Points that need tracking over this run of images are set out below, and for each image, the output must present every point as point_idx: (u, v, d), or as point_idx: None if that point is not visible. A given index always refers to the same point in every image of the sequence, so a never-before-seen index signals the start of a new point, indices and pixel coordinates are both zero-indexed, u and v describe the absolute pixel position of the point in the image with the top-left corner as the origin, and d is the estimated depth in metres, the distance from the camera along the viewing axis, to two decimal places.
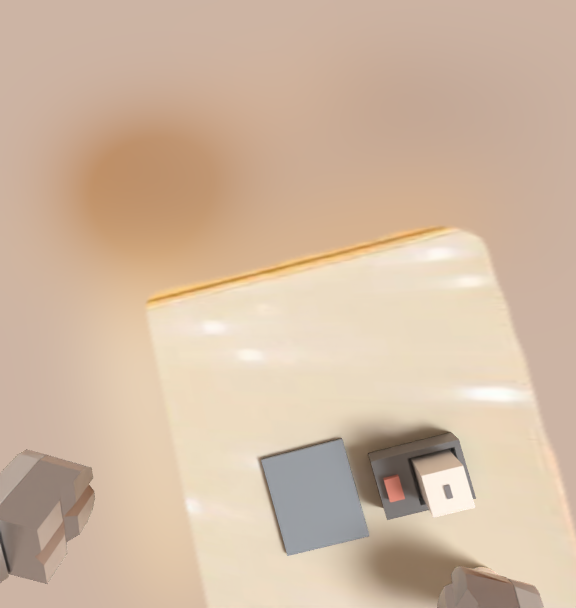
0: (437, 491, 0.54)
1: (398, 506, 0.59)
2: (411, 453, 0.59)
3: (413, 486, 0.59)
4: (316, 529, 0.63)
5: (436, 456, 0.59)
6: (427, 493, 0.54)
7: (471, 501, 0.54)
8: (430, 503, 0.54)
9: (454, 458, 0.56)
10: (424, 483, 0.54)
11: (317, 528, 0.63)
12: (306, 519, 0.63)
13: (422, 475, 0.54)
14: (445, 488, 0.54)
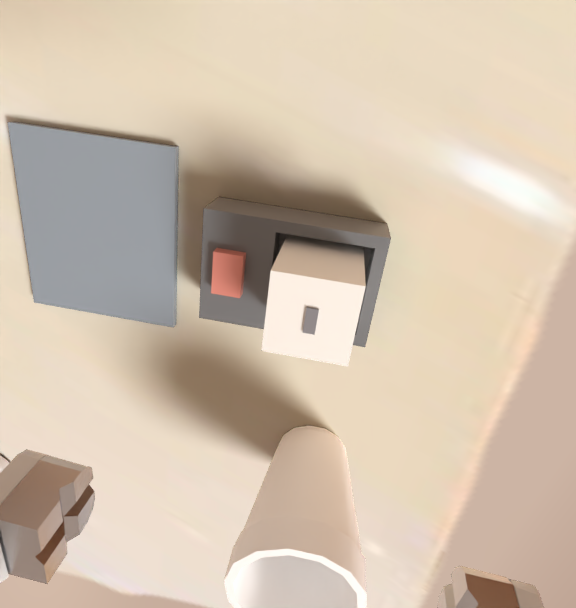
0: (290, 311, 0.25)
1: (226, 305, 0.31)
2: (287, 225, 0.28)
3: (266, 284, 0.30)
4: (88, 282, 0.35)
5: (332, 251, 0.28)
6: (268, 306, 0.25)
7: (345, 354, 0.26)
8: (266, 326, 0.26)
9: (360, 267, 0.26)
10: (271, 286, 0.25)
11: (91, 282, 0.35)
12: (75, 262, 0.35)
13: (274, 270, 0.24)
14: (307, 312, 0.25)
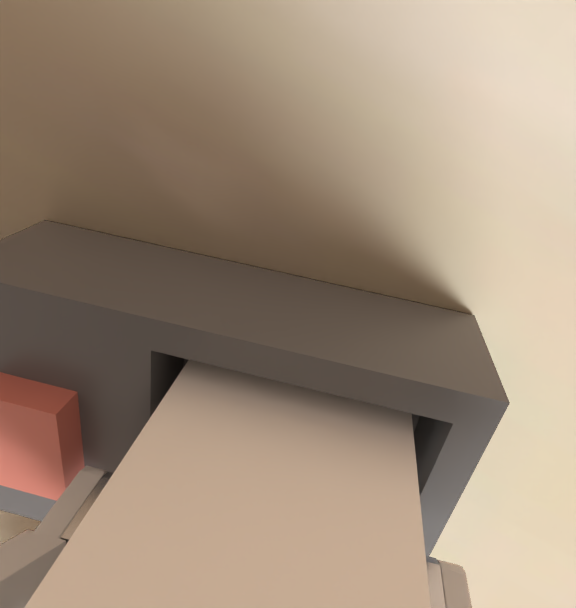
0: None
1: None
2: (184, 337, 0.09)
3: None
4: None
5: (317, 418, 0.09)
6: None
7: None
8: None
9: (408, 533, 0.07)
10: None
11: None
12: None
13: None
14: None
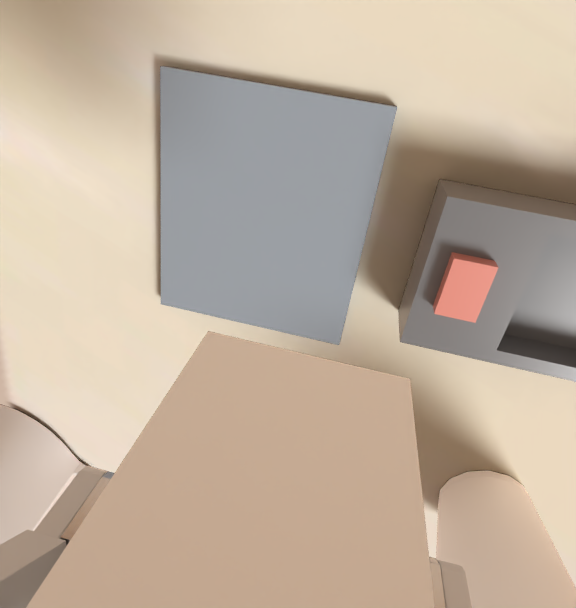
0: None
1: (444, 328, 0.23)
2: (572, 226, 0.19)
3: (511, 305, 0.22)
4: (236, 284, 0.27)
5: (319, 417, 0.09)
6: None
7: None
8: None
9: (411, 532, 0.07)
10: None
11: (239, 284, 0.27)
12: (223, 258, 0.27)
13: None
14: None
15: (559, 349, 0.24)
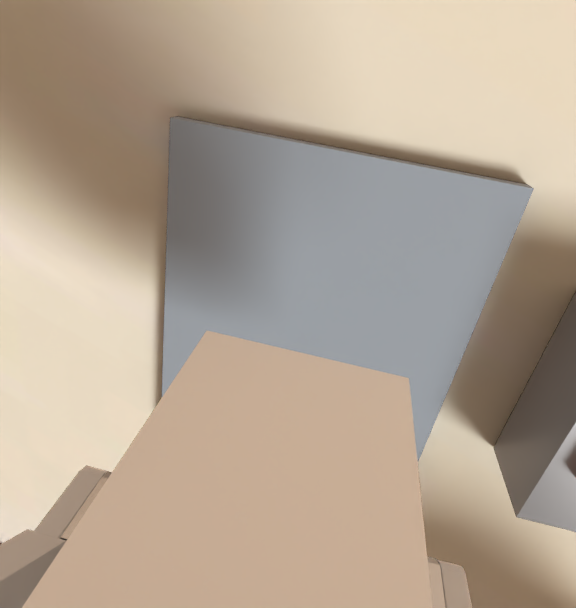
0: None
1: None
2: None
3: None
4: None
5: (317, 417, 0.09)
6: None
7: None
8: None
9: (409, 532, 0.07)
10: None
11: None
12: None
13: None
14: None
15: None
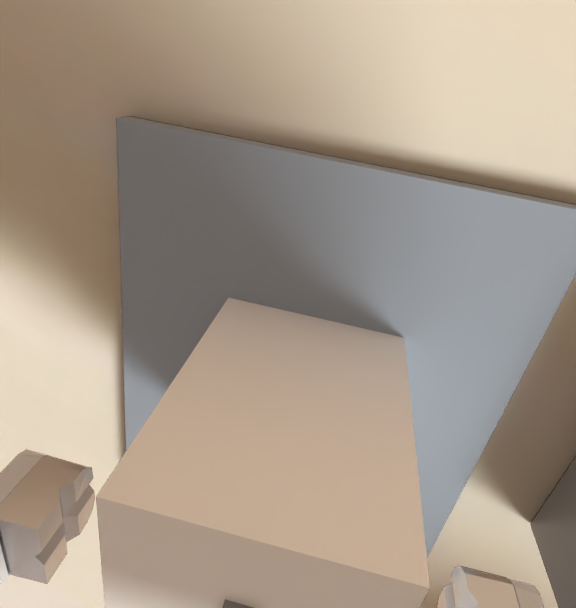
0: (176, 600, 0.08)
1: None
2: None
3: None
4: None
5: (326, 364, 0.11)
6: (109, 579, 0.08)
7: None
8: None
9: (403, 445, 0.09)
10: (107, 535, 0.07)
11: None
12: None
13: (111, 493, 0.07)
14: None
15: None
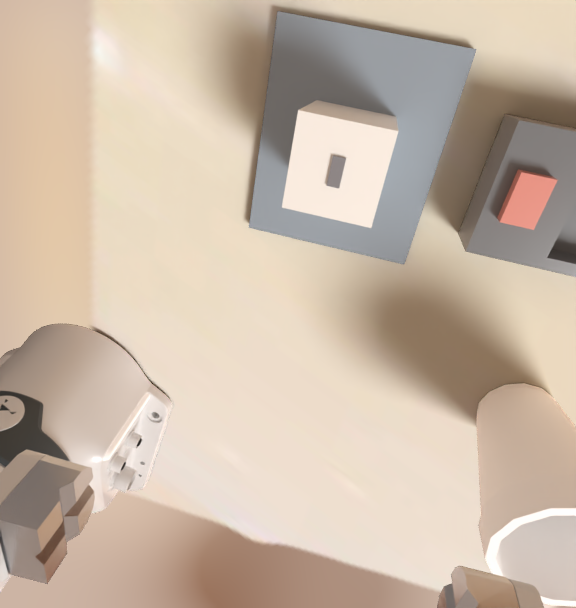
0: (315, 161, 0.24)
1: (504, 238, 0.28)
2: None
3: (563, 216, 0.26)
4: None
5: (363, 113, 0.27)
6: (293, 154, 0.24)
7: (370, 213, 0.24)
8: (289, 178, 0.24)
9: (392, 123, 0.25)
10: (297, 130, 0.23)
11: None
12: None
13: (301, 111, 0.23)
14: (333, 161, 0.23)
15: None
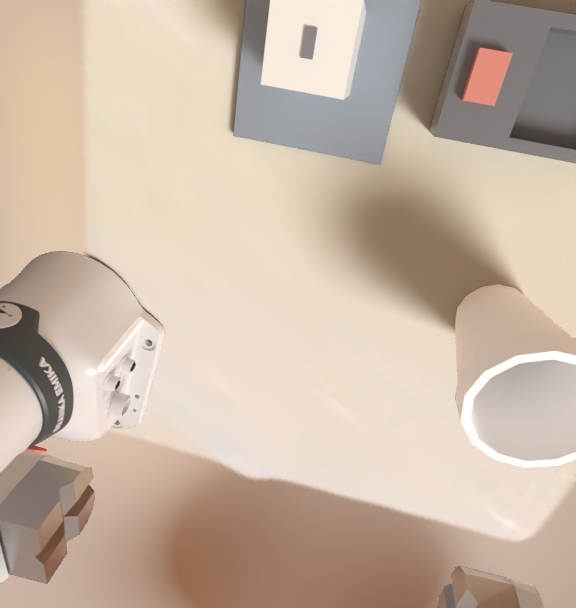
0: (290, 33, 0.26)
1: (469, 120, 0.30)
2: (567, 18, 0.26)
3: (521, 94, 0.29)
4: (298, 111, 0.34)
5: None
6: (269, 28, 0.26)
7: (342, 84, 0.26)
8: (266, 53, 0.26)
9: None
10: (272, 3, 0.25)
11: (301, 111, 0.34)
12: None
13: None
14: (306, 32, 0.25)
15: (556, 144, 0.31)
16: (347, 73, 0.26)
